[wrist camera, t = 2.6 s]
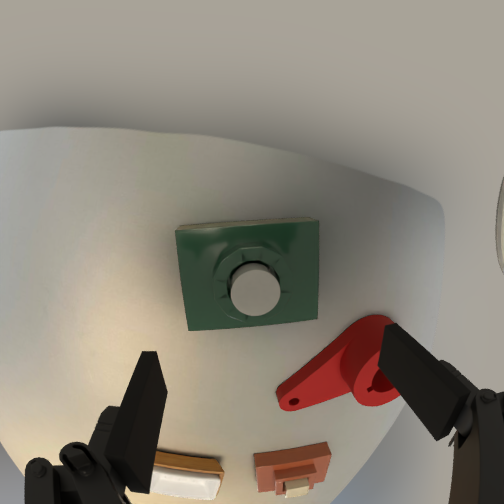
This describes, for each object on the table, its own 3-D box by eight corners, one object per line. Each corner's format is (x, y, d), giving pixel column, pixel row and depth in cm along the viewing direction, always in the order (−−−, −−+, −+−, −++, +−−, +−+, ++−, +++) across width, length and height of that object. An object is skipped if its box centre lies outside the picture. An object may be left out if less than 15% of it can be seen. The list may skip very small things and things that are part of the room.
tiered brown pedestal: (326, 441, 38) (335, 463, 33) (320, 469, 40) (326, 489, 35) (253, 453, 36) (257, 477, 32) (256, 480, 39) (259, 501, 34)
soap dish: (148, 471, 36) (144, 492, 31) (145, 443, 34) (140, 467, 29) (216, 481, 38) (217, 502, 33) (224, 455, 36) (225, 479, 31)
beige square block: (306, 476, 33) (309, 485, 32) (304, 485, 34) (307, 494, 32) (284, 480, 33) (286, 490, 31) (283, 489, 34) (285, 498, 32)
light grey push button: (275, 261, 24) (279, 267, 22) (276, 303, 25) (280, 313, 23) (228, 264, 24) (228, 272, 22) (231, 307, 25) (232, 318, 23)
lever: (387, 301, 32) (416, 324, 25) (402, 350, 34) (427, 375, 28) (260, 374, 32) (268, 412, 26) (292, 414, 35) (302, 449, 28)
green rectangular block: (309, 216, 28) (326, 223, 24) (309, 307, 31) (323, 328, 26) (179, 225, 27) (170, 234, 23) (191, 318, 30) (186, 341, 25)
